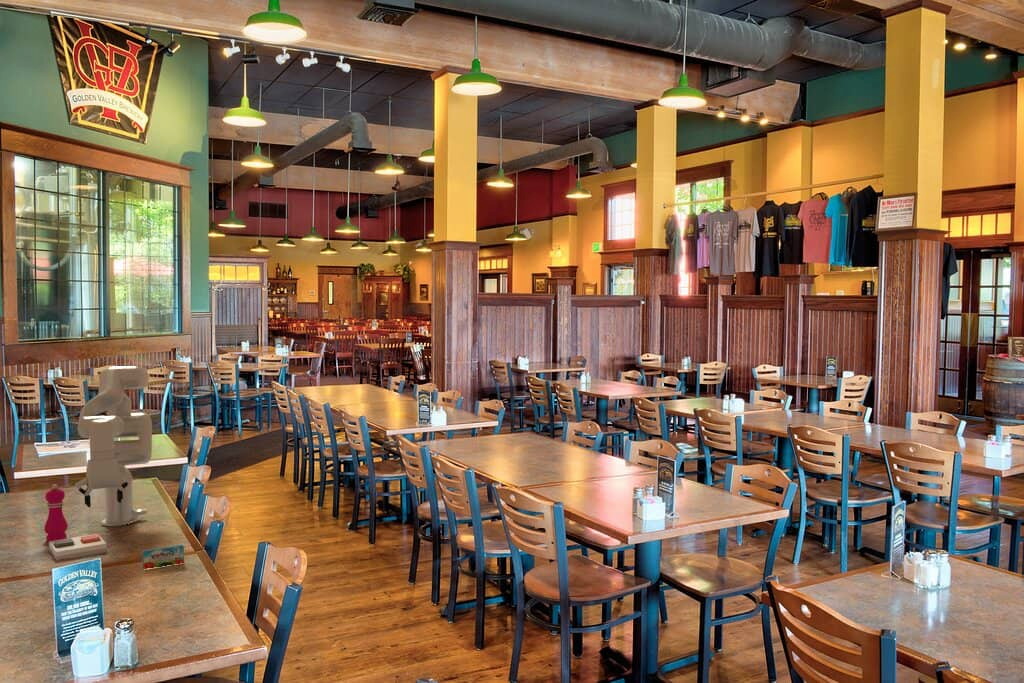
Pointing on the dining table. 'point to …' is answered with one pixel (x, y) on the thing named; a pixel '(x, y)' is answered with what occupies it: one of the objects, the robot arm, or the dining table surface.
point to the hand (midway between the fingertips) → (104, 504)
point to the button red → (90, 538)
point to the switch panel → (78, 548)
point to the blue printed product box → (163, 556)
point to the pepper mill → (55, 515)
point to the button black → (64, 543)
